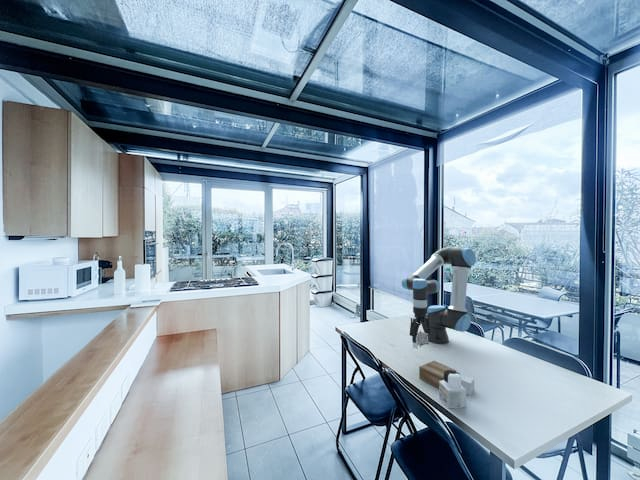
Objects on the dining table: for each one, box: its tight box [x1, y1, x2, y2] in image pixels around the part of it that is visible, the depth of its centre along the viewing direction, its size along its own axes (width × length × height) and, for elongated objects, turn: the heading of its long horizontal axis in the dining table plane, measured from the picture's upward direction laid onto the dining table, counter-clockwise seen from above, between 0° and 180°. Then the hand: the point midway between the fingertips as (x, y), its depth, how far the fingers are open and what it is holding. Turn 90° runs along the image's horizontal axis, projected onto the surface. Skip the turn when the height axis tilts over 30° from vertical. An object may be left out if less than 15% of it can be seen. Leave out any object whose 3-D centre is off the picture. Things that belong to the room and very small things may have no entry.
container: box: [438, 370, 467, 409], centre depth 112 cm, size 8×8×13 cm
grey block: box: [459, 373, 475, 397], centre depth 120 cm, size 6×6×6 cm
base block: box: [418, 360, 457, 390], centre depth 129 cm, size 12×12×6 cm
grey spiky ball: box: [417, 329, 430, 348], centre depth 148 cm, size 9×8×10 cm
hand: (420, 345), depth 148 cm, fingers closed on grey spiky ball, 8 cm apart
